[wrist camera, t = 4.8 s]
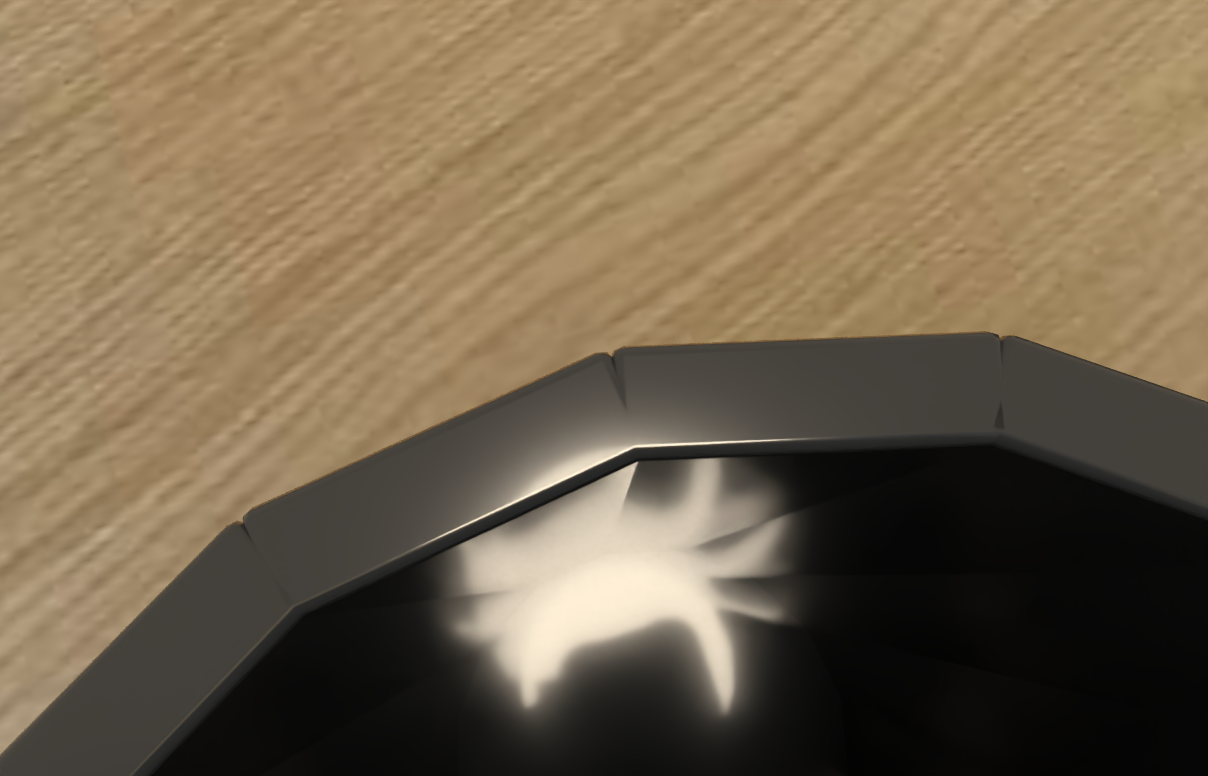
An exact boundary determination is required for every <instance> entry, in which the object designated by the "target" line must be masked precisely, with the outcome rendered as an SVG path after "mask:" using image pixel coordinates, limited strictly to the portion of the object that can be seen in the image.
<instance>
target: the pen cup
mask: <svg viewBox="0 0 1208 776" xmlns="http://www.w3.org/2000/svg"><path fill="white" fill-rule="evenodd" d="M0 776H1208V402H1206V401H1203V400H1201V399H1198V398H1195V397H1192V396H1189V395H1186V394H1183V393H1180V392H1177V391H1174V390H1171V389H1169V388H1166V387H1163V386H1160V385H1157V384H1154V383H1151V382H1148V381H1145V380H1142V379H1139V378H1137V377H1134V376H1131V375H1128V374H1125V373H1122V372H1119V371H1116V370H1113V369H1110V368H1107V367H1105V366H1102V365H1099V364H1096V363H1093V362H1090V361H1087V360H1084V359H1081V358H1078V357H1075V356H1073V355H1070V354H1067V353H1064V352H1061V351H1058V350H1055V349H1052V348H1049V347H1046V346H1043V345H1041V344H1038V343H1035V342H1032V341H1029V340H1026V339H1023V338H1020V337H1017V336H1014V335H1010V336H1002V337H999V335H997V334H994V333H990V332H986V331H980V332H955V333H931V334H907V335H883V336H858V337H834V338H810V339H785V340H761V341H737V342H712V343H688V344H664V345H639V346H623V347H621V348H619V349H616V350H614V351H613V354H612V356H611V355H609V354H608V353H607V352H600V353H594V354H592V355H590V356H587V357H585V358H583V359H581V360H578V361H576V362H574V363H572V364H570V365H567V366H565V367H563V368H561V369H559V370H556V371H554V372H552V373H550V374H547V375H545V376H543V377H541V378H539V379H536V380H534V381H532V382H530V383H528V384H525V385H523V386H521V387H519V388H516V389H514V390H512V391H510V392H508V393H505V394H503V395H501V396H499V397H497V398H494V399H492V400H490V401H488V402H485V403H483V404H481V405H479V406H477V407H474V408H472V409H470V410H468V411H466V412H463V413H461V414H459V415H457V416H454V417H452V418H450V419H448V420H446V421H443V422H441V423H439V424H437V425H435V426H432V427H430V428H428V429H426V430H423V431H421V432H419V433H417V434H415V435H412V436H410V437H408V438H406V439H404V440H401V441H399V442H397V443H395V444H393V445H390V446H388V447H386V448H384V449H381V450H379V451H377V452H375V453H373V454H370V455H368V456H366V457H364V458H362V459H359V460H357V461H355V462H353V463H350V464H348V465H346V466H344V467H342V468H339V469H337V470H335V471H333V472H331V473H328V474H326V475H324V476H322V477H319V478H317V479H315V480H313V481H311V482H308V483H306V484H304V485H302V486H300V487H297V488H295V489H293V490H291V491H288V492H286V493H284V494H282V495H280V496H277V497H275V498H273V499H271V500H269V501H266V502H264V503H262V504H260V505H257V506H255V507H253V508H252V509H251V510H249V511H248V512H247V513H246V514H245V515H244V516H243V522H241V521H236V522H234V523H232V524H230V525H227V526H226V527H225V528H224V529H223V530H222V531H221V532H220V533H219V534H218V535H217V536H216V537H215V538H214V539H213V540H212V541H211V542H210V543H209V544H208V545H207V546H206V547H205V548H204V549H203V550H202V551H201V552H200V553H199V554H198V555H197V556H196V557H195V558H194V559H193V560H192V561H191V562H190V563H189V564H188V565H187V566H186V567H185V568H184V569H183V570H182V571H181V572H180V573H179V574H178V575H177V576H176V577H175V578H174V579H173V580H172V581H171V582H170V583H169V584H168V585H167V586H166V587H165V588H164V589H163V591H162V592H161V593H160V594H159V595H158V596H157V597H156V598H155V599H154V600H153V601H152V602H151V603H150V604H149V605H148V606H147V607H146V608H145V609H144V610H143V611H142V612H141V613H140V614H139V615H138V616H137V617H136V618H135V619H134V620H133V621H132V622H131V623H130V624H129V625H128V626H127V627H126V628H125V629H124V630H123V631H122V632H121V633H120V634H119V635H118V636H117V637H116V638H115V639H114V640H113V641H112V642H111V643H110V644H109V645H108V646H107V647H106V648H105V649H104V650H103V651H102V652H101V653H100V654H99V655H98V656H97V657H96V658H95V659H94V660H93V661H92V662H91V663H90V664H89V665H88V666H87V667H86V668H85V669H84V670H83V671H82V672H81V673H80V674H79V675H78V676H77V677H76V678H75V679H74V680H73V681H72V682H71V683H70V684H69V685H68V686H67V687H66V688H65V689H64V690H63V691H62V692H61V693H60V694H59V695H58V697H57V698H56V699H55V700H54V701H53V702H52V703H51V704H50V705H49V706H48V707H47V708H46V709H45V710H44V711H43V712H42V713H41V714H40V715H39V716H38V717H37V718H36V719H35V720H34V721H33V722H32V723H31V724H30V725H29V726H28V727H27V728H26V729H25V730H24V731H23V732H22V733H21V734H20V735H19V736H18V737H17V738H16V739H15V740H14V741H13V742H12V743H11V744H10V745H9V746H8V747H7V748H6V749H5V750H4V751H3V752H2V753H1V754H0Z"/></svg>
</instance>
